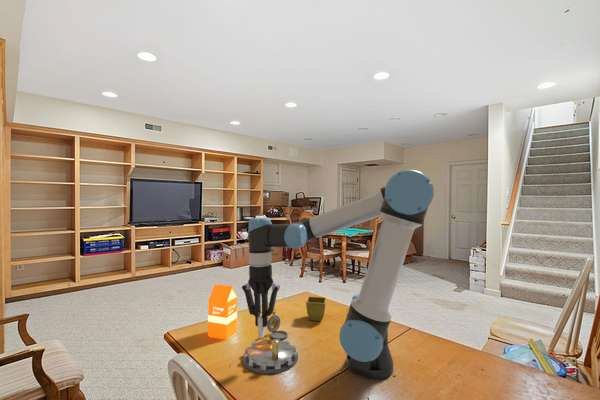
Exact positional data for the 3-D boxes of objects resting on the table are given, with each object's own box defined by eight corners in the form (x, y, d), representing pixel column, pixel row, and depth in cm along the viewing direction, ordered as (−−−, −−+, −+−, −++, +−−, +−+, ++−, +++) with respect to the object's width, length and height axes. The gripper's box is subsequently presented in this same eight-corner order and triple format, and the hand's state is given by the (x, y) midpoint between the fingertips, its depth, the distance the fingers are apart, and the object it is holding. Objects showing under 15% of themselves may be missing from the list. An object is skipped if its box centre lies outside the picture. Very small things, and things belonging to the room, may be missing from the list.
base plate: (309, 357, 100) (309, 356, 100) (266, 382, 86) (266, 380, 86) (273, 339, 113) (273, 338, 113) (231, 358, 99) (231, 356, 99)
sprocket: (287, 339, 111) (287, 320, 111) (304, 364, 94) (304, 340, 94) (240, 347, 105) (240, 326, 105) (249, 375, 88) (249, 350, 88)
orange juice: (226, 340, 112) (227, 288, 113) (207, 336, 115) (208, 286, 116) (237, 331, 120) (237, 283, 120) (219, 328, 123) (219, 281, 123)
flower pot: (307, 314, 139) (308, 296, 139) (325, 315, 138) (326, 297, 138) (305, 322, 130) (305, 302, 130) (325, 323, 129) (325, 303, 129)
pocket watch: (285, 341, 112) (285, 315, 112) (264, 339, 113) (264, 313, 113) (290, 332, 120) (290, 308, 120) (270, 330, 121) (271, 306, 121)
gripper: (282, 262, 98) (283, 332, 97) (247, 261, 101) (248, 329, 100) (275, 267, 90) (276, 343, 90) (237, 266, 94) (238, 339, 93)
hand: (261, 335), depth 95 cm, fingers closed
